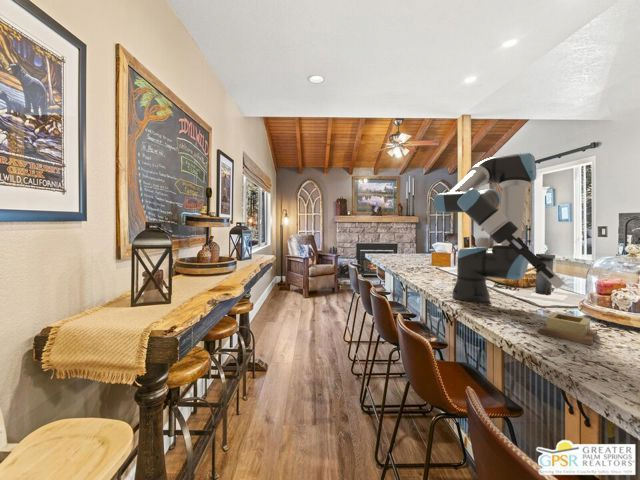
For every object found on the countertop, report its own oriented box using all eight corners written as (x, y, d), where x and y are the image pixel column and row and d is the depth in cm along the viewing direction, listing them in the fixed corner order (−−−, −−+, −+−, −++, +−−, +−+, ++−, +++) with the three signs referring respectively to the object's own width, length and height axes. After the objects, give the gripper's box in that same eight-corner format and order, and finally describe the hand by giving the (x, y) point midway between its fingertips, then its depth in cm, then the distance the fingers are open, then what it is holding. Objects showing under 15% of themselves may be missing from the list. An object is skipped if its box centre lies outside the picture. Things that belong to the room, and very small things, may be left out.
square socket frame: (552, 322, 100) (553, 312, 100) (589, 330, 93) (590, 318, 93) (546, 329, 94) (546, 317, 94) (585, 337, 87) (585, 324, 87)
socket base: (548, 325, 102) (548, 320, 102) (596, 335, 93) (597, 330, 93) (538, 333, 94) (539, 328, 94) (590, 345, 85) (591, 339, 85)
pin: (536, 291, 99) (538, 253, 98) (554, 293, 95) (557, 254, 95) (531, 292, 96) (533, 254, 95) (550, 295, 92) (552, 255, 91)
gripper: (489, 235, 110) (544, 287, 102) (488, 236, 95) (552, 297, 87) (508, 220, 107) (565, 273, 99) (510, 219, 92) (577, 281, 85)
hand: (559, 284), depth 93 cm, fingers closed on pin, 4 cm apart
